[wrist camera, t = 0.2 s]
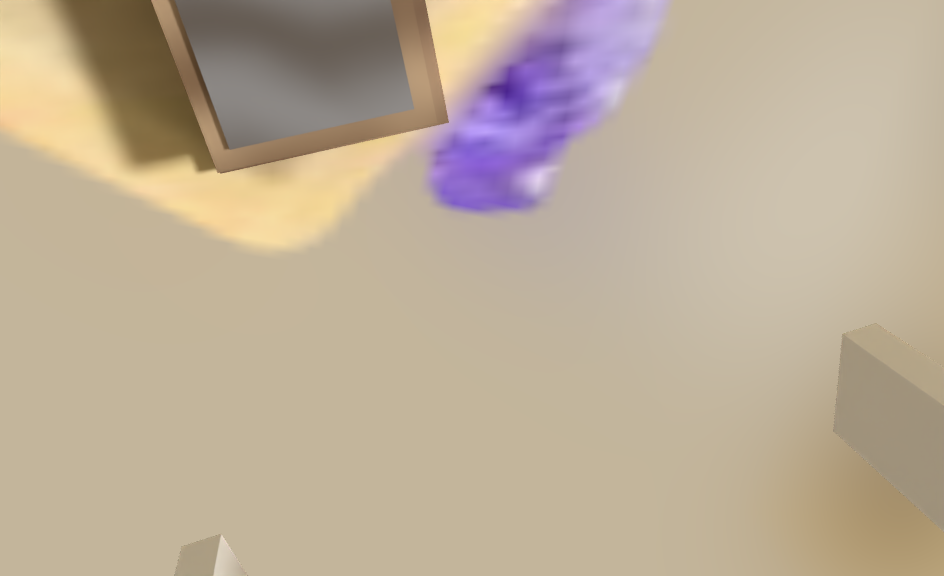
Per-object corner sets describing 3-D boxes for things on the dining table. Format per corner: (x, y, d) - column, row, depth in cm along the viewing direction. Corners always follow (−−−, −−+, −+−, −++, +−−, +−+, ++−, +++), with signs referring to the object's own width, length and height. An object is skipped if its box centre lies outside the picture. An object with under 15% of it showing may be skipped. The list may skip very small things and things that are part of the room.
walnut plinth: (126, -96, 29) (77, -113, 24) (393, -146, 30) (402, -174, 25) (225, 166, 35) (203, 198, 30) (445, 117, 36) (461, 140, 31)
